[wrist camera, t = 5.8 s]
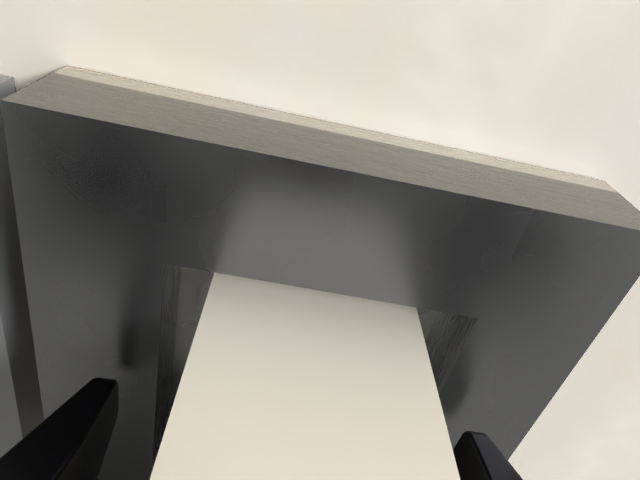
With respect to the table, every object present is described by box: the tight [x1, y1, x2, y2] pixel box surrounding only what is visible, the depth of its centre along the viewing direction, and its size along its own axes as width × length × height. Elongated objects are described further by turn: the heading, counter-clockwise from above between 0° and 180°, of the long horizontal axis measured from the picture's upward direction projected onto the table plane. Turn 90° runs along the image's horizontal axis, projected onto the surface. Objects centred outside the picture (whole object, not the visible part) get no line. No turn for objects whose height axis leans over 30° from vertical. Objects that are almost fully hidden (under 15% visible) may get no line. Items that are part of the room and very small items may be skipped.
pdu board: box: [1, 66, 640, 480], centre depth 13 cm, size 18×10×2 cm, turn 168°
